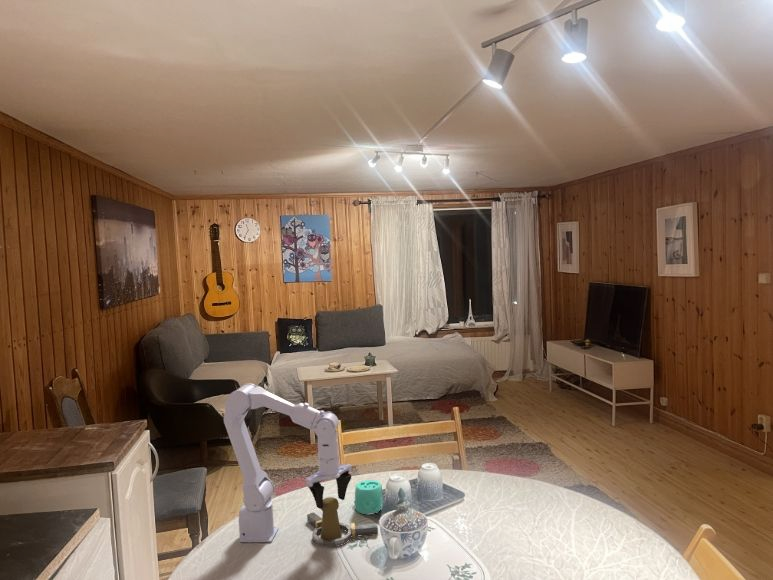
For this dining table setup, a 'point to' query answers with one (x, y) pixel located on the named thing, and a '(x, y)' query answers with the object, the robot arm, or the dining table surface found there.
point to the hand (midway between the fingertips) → (330, 503)
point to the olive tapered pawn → (330, 520)
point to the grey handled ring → (352, 530)
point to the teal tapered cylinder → (368, 496)
